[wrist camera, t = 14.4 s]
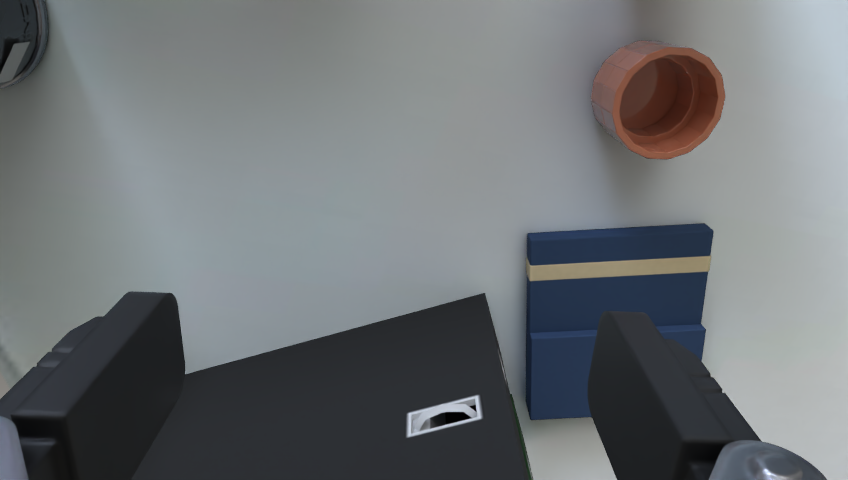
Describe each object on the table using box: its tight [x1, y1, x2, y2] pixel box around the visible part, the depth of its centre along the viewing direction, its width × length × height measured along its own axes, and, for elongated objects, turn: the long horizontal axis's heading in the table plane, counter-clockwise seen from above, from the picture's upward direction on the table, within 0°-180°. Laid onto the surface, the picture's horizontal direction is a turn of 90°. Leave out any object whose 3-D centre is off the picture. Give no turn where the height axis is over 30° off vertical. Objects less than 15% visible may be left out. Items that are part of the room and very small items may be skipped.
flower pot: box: [591, 40, 725, 159], centre depth 35 cm, size 6×6×5 cm
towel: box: [526, 223, 713, 420], centre depth 43 cm, size 12×14×2 cm
